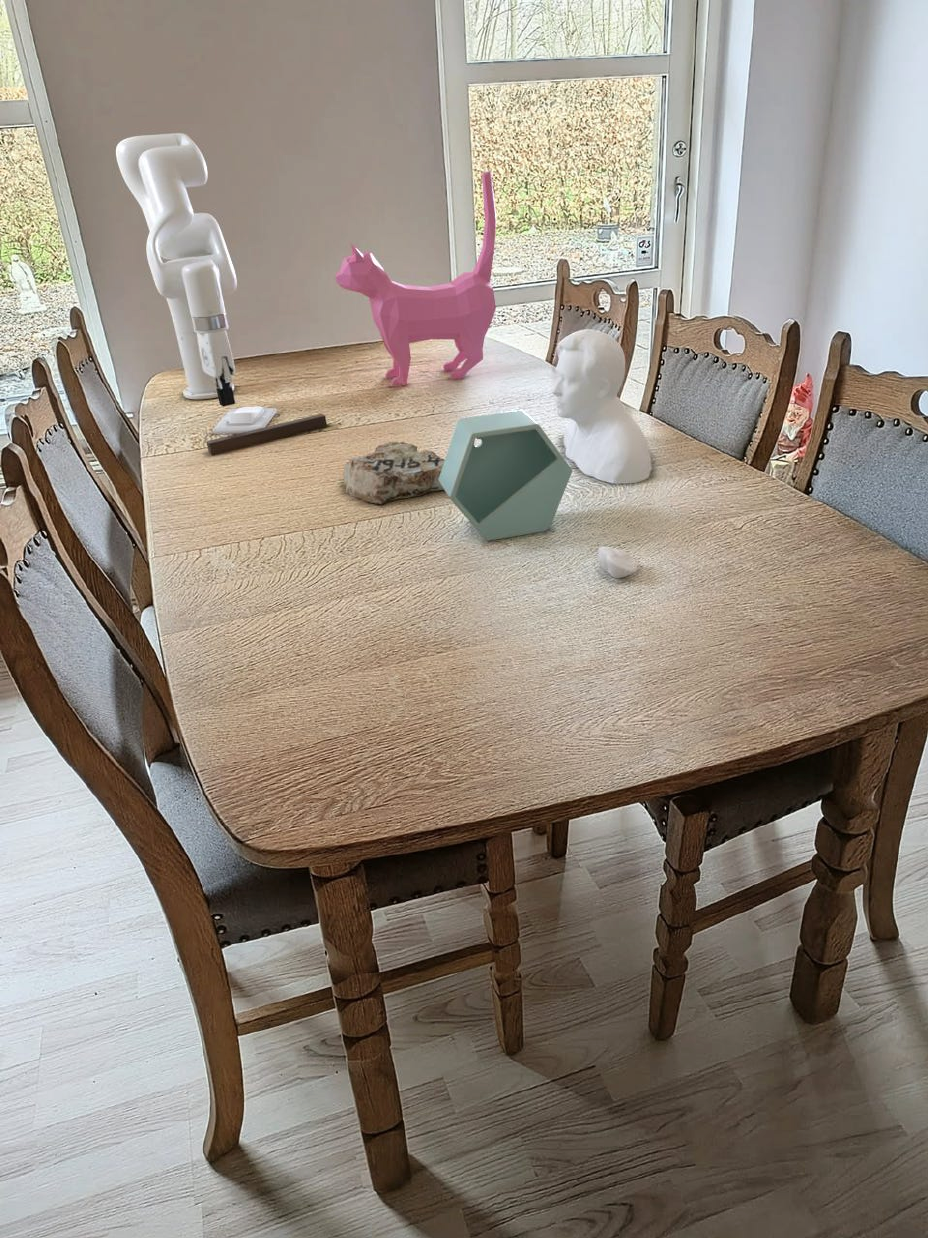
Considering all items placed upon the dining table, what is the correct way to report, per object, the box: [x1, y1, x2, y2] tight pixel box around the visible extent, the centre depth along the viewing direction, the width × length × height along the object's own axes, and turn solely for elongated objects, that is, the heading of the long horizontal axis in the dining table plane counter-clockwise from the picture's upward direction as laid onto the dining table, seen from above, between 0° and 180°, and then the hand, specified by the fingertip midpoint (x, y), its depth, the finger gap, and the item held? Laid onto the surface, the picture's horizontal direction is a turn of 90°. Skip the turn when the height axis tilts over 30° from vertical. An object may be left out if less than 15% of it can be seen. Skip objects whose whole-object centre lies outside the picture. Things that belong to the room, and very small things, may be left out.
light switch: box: [212, 406, 278, 435], centre depth 192 cm, size 11×4×13 cm
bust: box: [551, 328, 653, 485], centre depth 155 cm, size 28×19×24 cm
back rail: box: [205, 413, 328, 456], centre depth 182 cm, size 2×26×2 cm, turn 123°
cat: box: [334, 170, 497, 387], centre depth 205 cm, size 13×39×45 cm, turn 104°
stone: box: [343, 441, 445, 505], centre depth 157 cm, size 19×6×25 cm
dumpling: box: [597, 545, 638, 579], centre depth 121 cm, size 7×5×4 cm
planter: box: [438, 409, 573, 542], centre depth 133 cm, size 17×8×21 cm
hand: (227, 404), depth 200 cm, fingers closed
